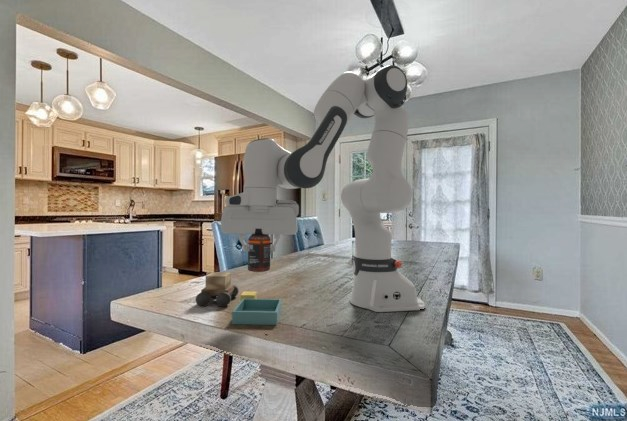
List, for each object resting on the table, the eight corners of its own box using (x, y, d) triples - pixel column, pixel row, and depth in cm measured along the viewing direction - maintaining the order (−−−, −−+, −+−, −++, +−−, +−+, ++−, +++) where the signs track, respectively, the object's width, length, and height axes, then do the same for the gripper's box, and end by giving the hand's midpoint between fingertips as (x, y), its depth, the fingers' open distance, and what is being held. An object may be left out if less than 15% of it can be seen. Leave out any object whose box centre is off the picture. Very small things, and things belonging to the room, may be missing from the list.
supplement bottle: (272, 268, 84) (273, 227, 84) (266, 273, 78) (268, 229, 78) (251, 267, 84) (252, 227, 85) (244, 271, 79) (245, 228, 79)
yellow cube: (256, 304, 92) (257, 291, 92) (254, 309, 88) (254, 295, 88) (243, 304, 92) (243, 291, 92) (240, 308, 88) (240, 295, 88)
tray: (281, 310, 87) (282, 299, 87) (276, 324, 76) (277, 312, 76) (242, 309, 87) (243, 298, 87) (232, 324, 76) (232, 311, 76)
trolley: (238, 296, 99) (238, 271, 99) (229, 306, 89) (229, 278, 89) (208, 296, 100) (208, 270, 100) (195, 306, 89) (195, 277, 89)
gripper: (299, 200, 84) (298, 250, 84) (226, 199, 85) (225, 249, 85) (298, 199, 78) (297, 253, 78) (218, 198, 78) (218, 252, 78)
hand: (259, 251), depth 81 cm, fingers closed on supplement bottle, 6 cm apart
